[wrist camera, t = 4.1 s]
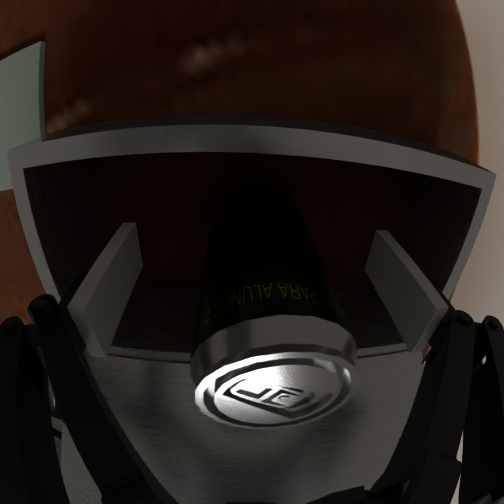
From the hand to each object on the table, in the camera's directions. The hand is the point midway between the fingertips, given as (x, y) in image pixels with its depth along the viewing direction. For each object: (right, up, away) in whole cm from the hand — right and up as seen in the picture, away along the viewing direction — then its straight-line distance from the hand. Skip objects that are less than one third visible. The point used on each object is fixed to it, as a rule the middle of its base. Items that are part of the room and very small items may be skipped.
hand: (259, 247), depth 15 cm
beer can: (0, +2, +3) cm, 4 cm away
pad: (-19, +9, -3) cm, 21 cm away
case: (-1, 0, +4) cm, 4 cm away
